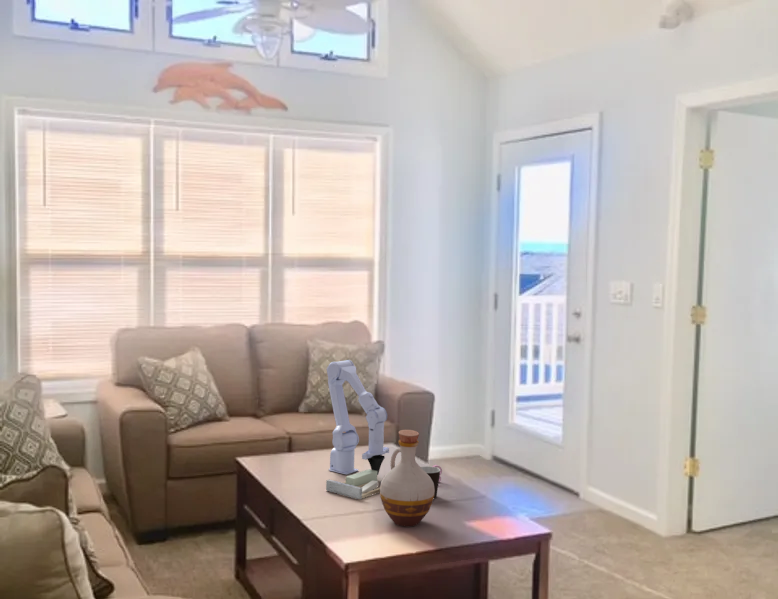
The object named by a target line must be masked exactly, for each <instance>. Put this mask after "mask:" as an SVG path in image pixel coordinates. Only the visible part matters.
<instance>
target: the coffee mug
mask: <svg viewBox="0 0 778 599" xmlns="http://www.w3.org/2000/svg"><path fill="white" fill-rule="evenodd" d="M420 467H421V468H422V469H423V470H424V471H425V472H426V473H427V474H428V475H429V476H430V478H431V479H432V481H433V483H434V489H435V492H434V498H435V499H437V495H438V488H439V483H440V482H439V477H441V475H440V469H439V468H438V467H432V466H430V465H429V466H428V465H427V466H425V465H424V466H420Z"/></svg>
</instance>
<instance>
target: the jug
mask: <svg viewBox="0 0 778 599" xmlns="http://www.w3.org/2000/svg"><path fill="white" fill-rule="evenodd" d="M398 436H399V439H398V445H399V447H397V448H396V449H395V450H393V452H392V453H391V457H390V470H389V471H388V472H387V473H386V474H385V475H384V476H383V478H382V480H381V482H380V487H379V488H380V492H379V496H380V499H381V504H382V506H383V509H384V512H385V513H386V514H387V515H388V517H389V518H390V519H391V521H392V522H393V523H394V524H395V526H396V525H397V526H400V527H404V528H405V527H406V528H407V527H408V528H410V527H414V526H415V527H416V526H418V525H419V524H420V523H421V521H423V519H424V518H425V517H426V515H427V514H428V513H429V512H430V509H431V507H432V504H433V502H434V499H433V498H434V492H435V489H434V483H433V481H432V479H431V478H430V476H429V475H428V474H427V473H426V472H425V471H424V470H423V469H422V468H421V467H422V466H420V465H419V464H418V463H417V461H416V452H417V448H418V446H419V442H420V441H419V440H418V439H419V436H420V433H419V432H418V431H417V430H413V429H401V430H399V431H398ZM399 453H400V456H401V457H400V461H399V462H398V463H397V464H396V458H397V455H398V454H399ZM395 464H396V465H395Z"/></svg>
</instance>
